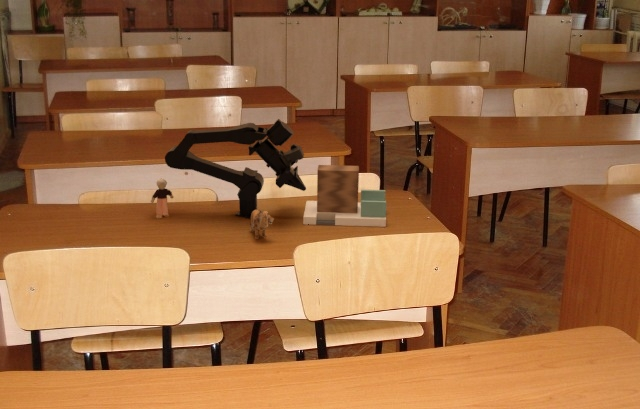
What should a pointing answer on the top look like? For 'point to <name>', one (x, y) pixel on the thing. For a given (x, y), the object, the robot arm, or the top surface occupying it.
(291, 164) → the robot arm
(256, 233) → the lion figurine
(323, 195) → the walnut block
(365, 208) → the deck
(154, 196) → the grandmother figurine
